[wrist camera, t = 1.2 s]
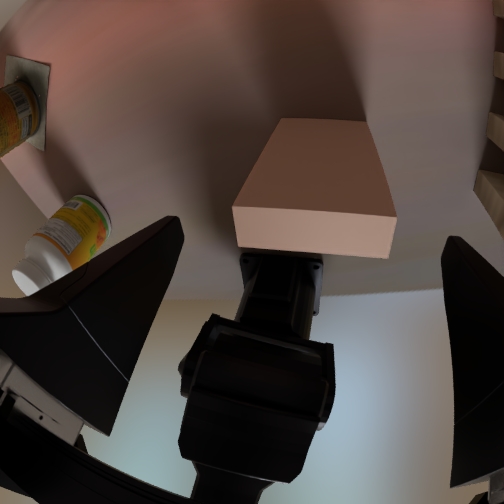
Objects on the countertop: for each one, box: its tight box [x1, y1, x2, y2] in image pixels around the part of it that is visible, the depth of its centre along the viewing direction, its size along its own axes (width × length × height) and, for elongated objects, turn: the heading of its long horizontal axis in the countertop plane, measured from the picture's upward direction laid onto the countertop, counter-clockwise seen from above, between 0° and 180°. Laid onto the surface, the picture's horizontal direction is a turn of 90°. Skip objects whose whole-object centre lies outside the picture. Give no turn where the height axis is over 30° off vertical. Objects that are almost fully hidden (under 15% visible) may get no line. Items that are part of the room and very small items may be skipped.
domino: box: [232, 118, 397, 259], centre depth 13 cm, size 2×5×10 cm, turn 96°
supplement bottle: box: [12, 195, 111, 296], centre depth 23 cm, size 5×5×10 cm
